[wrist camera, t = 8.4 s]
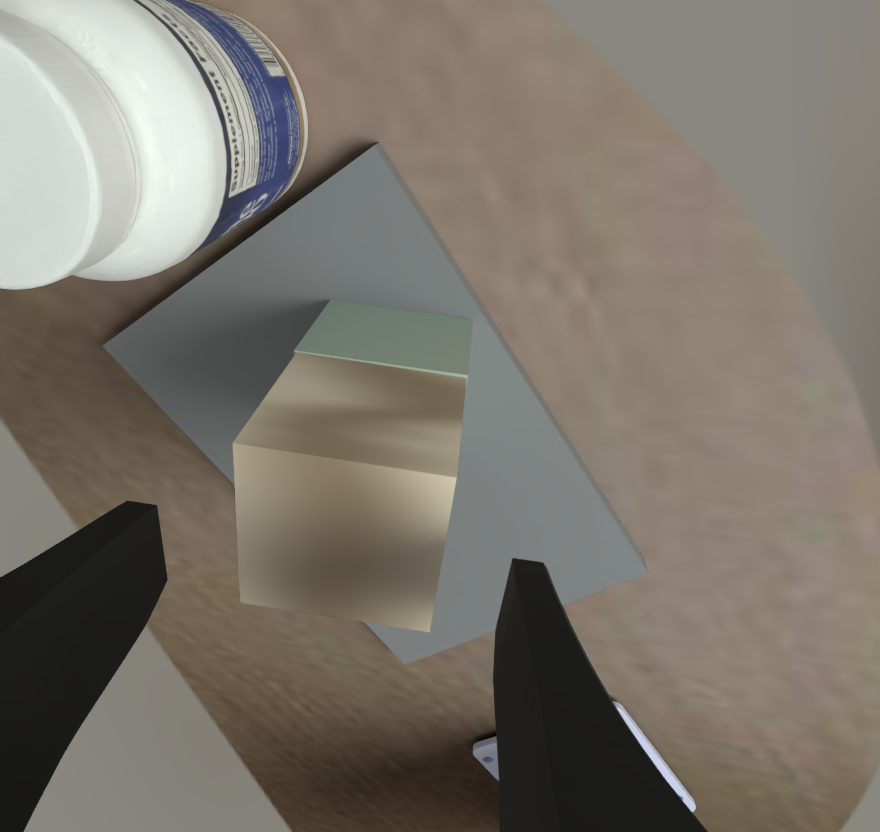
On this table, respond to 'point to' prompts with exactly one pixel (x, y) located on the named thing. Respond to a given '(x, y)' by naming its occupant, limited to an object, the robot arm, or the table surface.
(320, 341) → the sage block
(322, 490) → the birch block
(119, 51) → the pill bottle
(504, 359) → the board
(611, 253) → the table surface
